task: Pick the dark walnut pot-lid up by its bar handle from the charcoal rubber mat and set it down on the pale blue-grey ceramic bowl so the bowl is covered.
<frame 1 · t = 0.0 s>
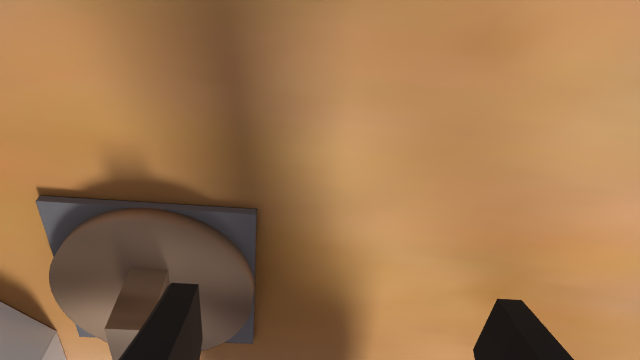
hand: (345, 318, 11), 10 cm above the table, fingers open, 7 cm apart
lid: (158, 281, 24), resting on mat
mat: (160, 276, 25), on the table
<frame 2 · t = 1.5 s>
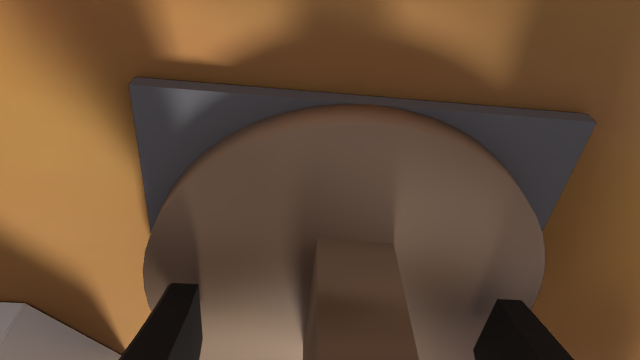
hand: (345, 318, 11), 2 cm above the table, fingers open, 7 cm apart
lid: (341, 269, 13), resting on mat
mat: (341, 259, 13), on the table
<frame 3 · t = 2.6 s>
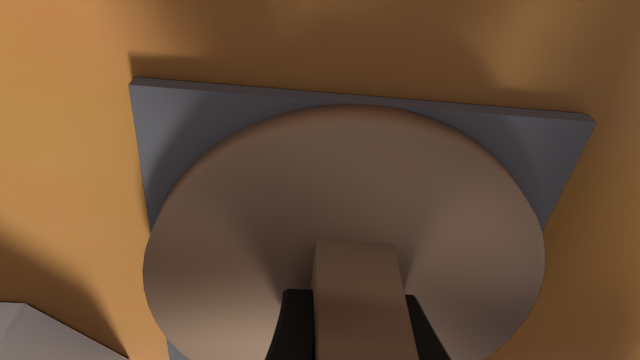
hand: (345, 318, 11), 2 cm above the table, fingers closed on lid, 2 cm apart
lid: (341, 270, 13), resting on mat, touching gripper
mat: (341, 259, 13), on the table
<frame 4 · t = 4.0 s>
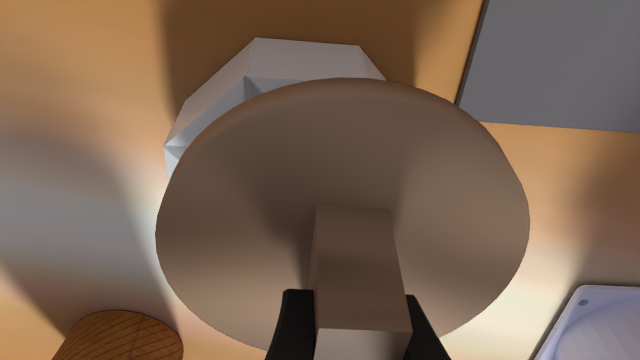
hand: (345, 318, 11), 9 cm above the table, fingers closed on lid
lid: (340, 235, 14), point 6 cm above the table, touching gripper
disposable coffee cup: (129, 341, 27), on the table
bowl: (299, 148, 19), on the table
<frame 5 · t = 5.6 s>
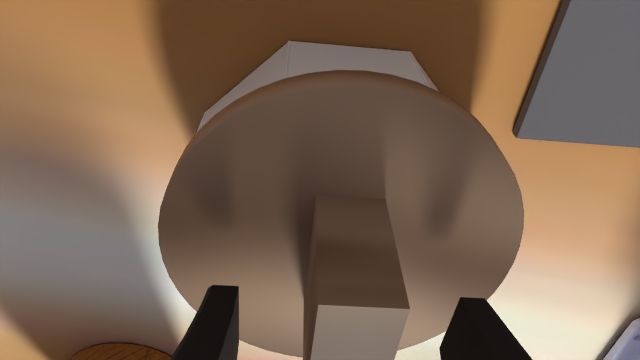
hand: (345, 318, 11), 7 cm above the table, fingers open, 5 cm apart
lid: (339, 229, 14), point 3 cm above the table, touching bowl
bowl: (333, 168, 17), on the table
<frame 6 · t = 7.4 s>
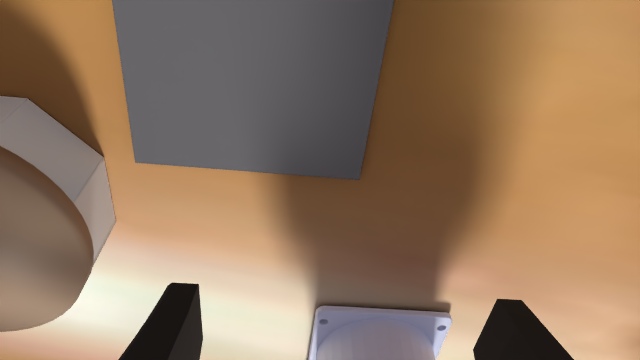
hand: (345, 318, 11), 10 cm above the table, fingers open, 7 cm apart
bowl: (9, 183, 21), on the table
mat: (253, 61, 18), on the table
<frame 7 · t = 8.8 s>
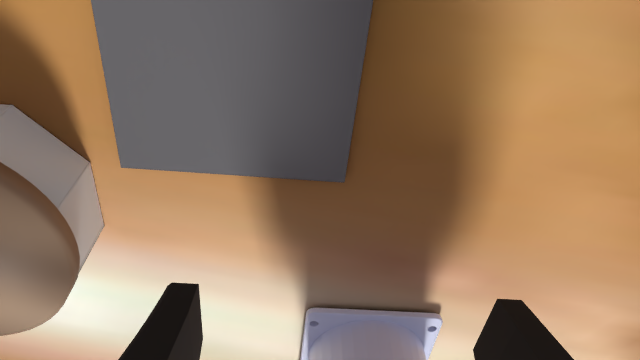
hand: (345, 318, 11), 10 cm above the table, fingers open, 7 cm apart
mat: (234, 66, 18), on the table
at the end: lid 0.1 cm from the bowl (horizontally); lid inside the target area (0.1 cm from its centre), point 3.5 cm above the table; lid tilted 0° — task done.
